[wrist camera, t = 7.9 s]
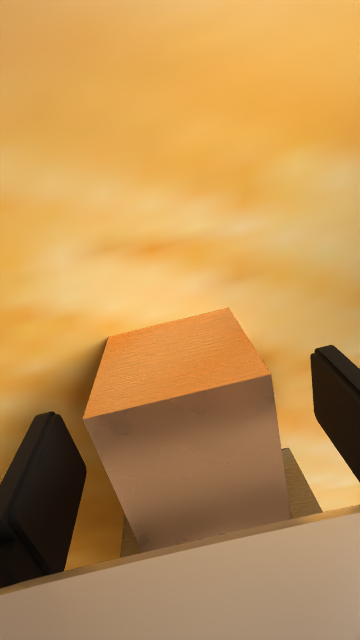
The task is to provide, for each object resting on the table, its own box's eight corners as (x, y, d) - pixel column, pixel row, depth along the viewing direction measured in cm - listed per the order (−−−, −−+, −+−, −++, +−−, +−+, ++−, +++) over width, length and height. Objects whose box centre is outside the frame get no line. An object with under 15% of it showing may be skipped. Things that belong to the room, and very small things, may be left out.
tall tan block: (107, 336, 13) (79, 422, 8) (229, 307, 13) (274, 375, 8) (191, 568, 19) (203, 692, 14) (273, 549, 19) (313, 668, 14)
